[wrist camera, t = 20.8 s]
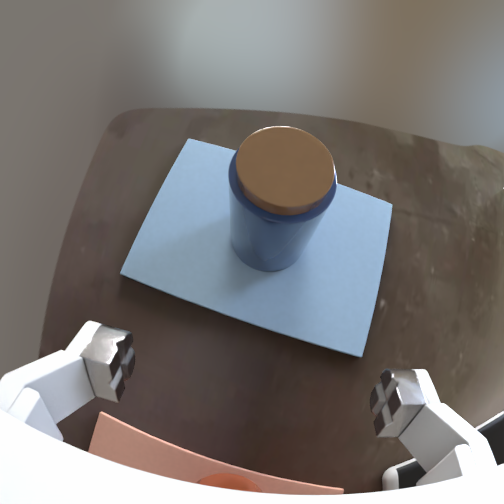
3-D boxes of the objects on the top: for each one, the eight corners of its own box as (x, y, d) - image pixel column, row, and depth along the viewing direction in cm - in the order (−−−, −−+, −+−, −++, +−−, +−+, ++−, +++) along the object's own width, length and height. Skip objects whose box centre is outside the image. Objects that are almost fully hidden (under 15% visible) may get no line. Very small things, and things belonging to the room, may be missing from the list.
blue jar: (219, 257, 24) (209, 192, 15) (245, 193, 26) (250, 109, 17) (293, 282, 24) (329, 231, 15) (313, 216, 26) (350, 140, 17)
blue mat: (121, 275, 24) (119, 273, 24) (189, 141, 29) (188, 138, 28) (359, 357, 23) (361, 357, 22) (390, 206, 27) (392, 204, 27)
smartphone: (378, 468, 20) (387, 473, 18) (554, 370, 22) (563, 368, 20) (380, 569, 15) (386, 577, 14) (551, 459, 18) (559, 460, 16)
